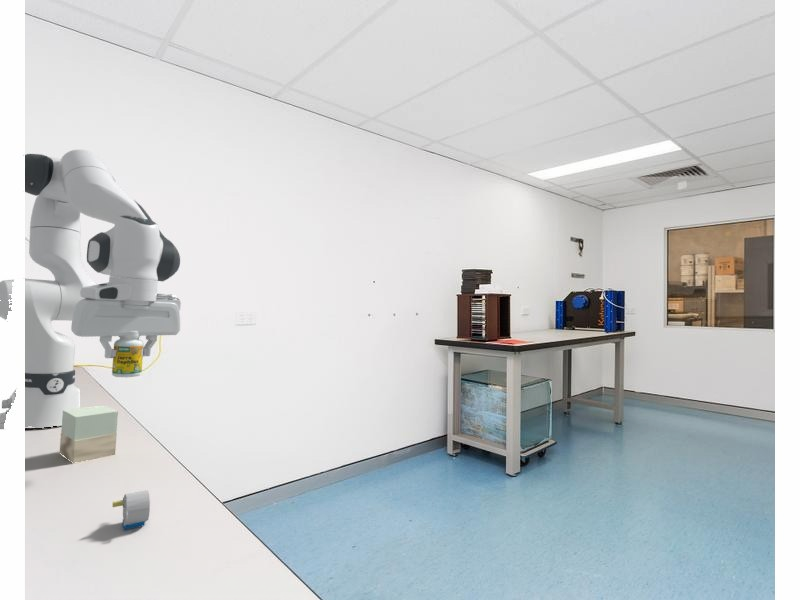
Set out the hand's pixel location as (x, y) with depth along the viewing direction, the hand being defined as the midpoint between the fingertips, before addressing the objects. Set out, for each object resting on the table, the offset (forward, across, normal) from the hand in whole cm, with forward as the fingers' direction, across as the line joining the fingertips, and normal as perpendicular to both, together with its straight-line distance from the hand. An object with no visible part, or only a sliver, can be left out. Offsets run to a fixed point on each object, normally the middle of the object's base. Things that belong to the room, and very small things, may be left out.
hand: (127, 356), depth 92 cm
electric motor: (+23, +10, +27) cm, 37 cm away
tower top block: (+19, +2, -12) cm, 22 cm away
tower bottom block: (+24, +2, -12) cm, 27 cm away
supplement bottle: (+4, 0, 0) cm, 4 cm away
